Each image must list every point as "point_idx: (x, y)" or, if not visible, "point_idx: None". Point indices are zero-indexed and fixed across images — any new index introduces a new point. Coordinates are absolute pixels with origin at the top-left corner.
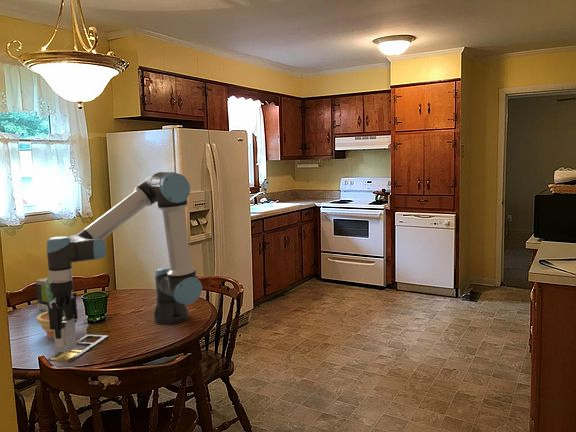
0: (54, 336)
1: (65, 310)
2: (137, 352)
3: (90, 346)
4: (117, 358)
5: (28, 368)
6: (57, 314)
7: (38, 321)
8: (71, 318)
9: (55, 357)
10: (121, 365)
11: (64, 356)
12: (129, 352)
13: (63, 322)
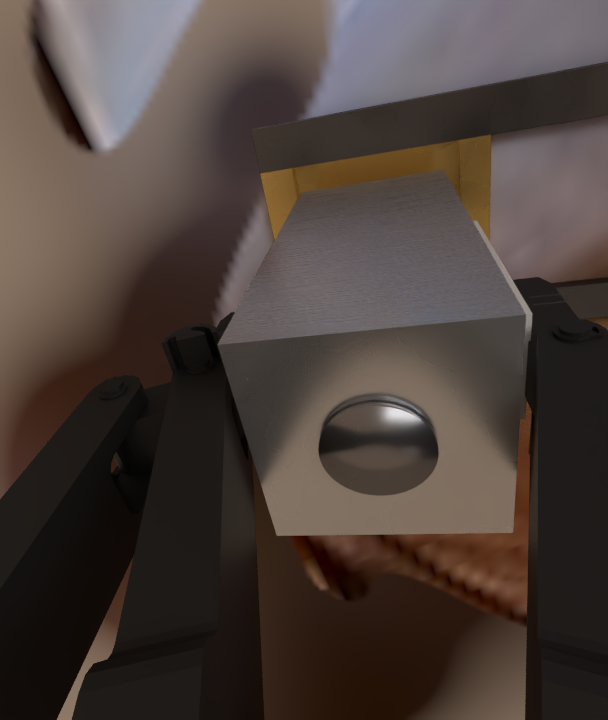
0: (273, 248)
1: (532, 559)
2: (516, 582)
3: (584, 304)
4: (418, 536)
5: (80, 102)
6: (73, 680)
7: None
8: (475, 510)
9: (316, 164)
10: (345, 579)
11: None
12: (511, 552)
13: (269, 506)
